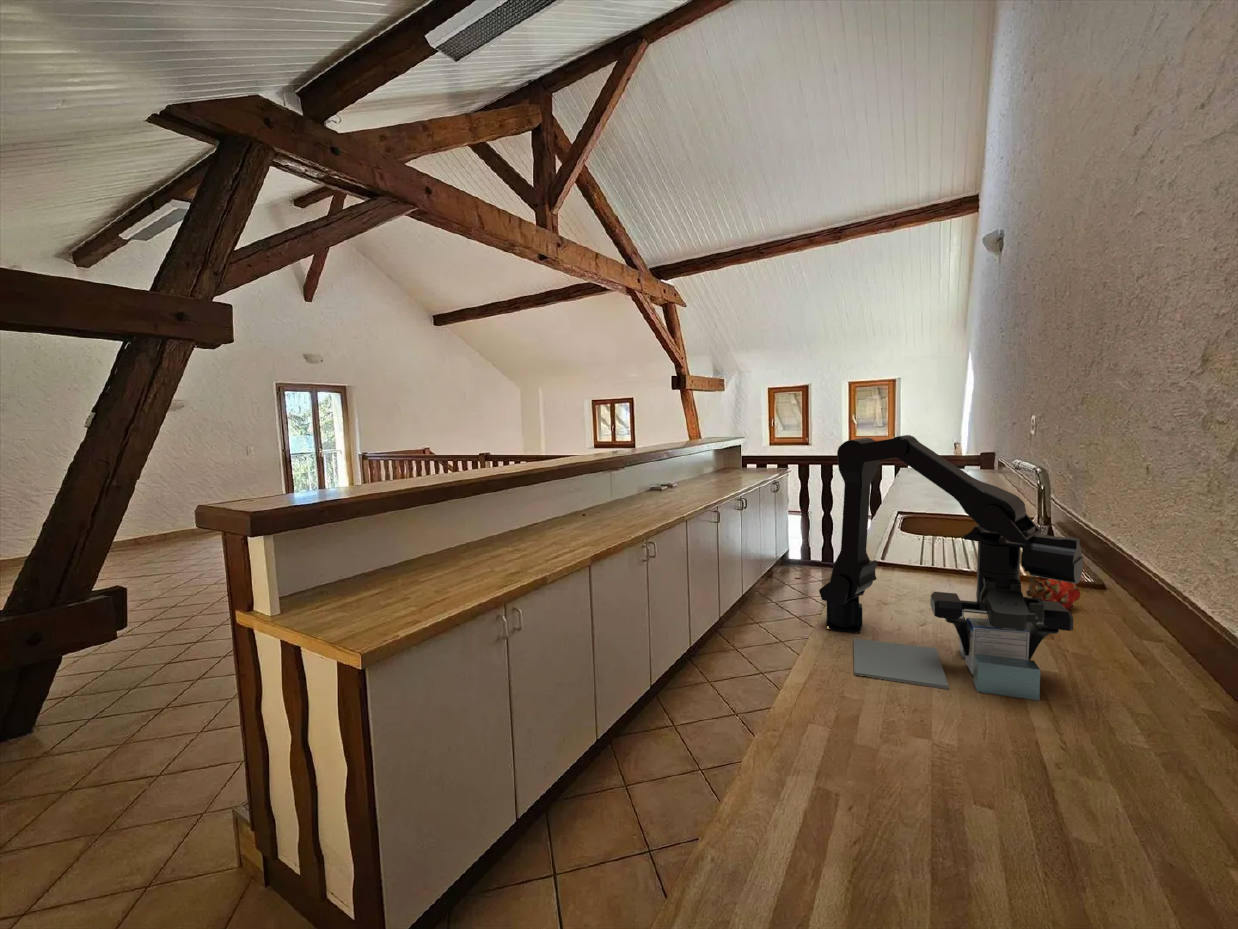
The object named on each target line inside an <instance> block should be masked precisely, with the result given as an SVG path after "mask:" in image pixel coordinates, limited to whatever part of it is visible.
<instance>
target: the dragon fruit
mask: <svg viewBox="0 0 1238 929" xmlns="http://www.w3.org/2000/svg"><path fill="white" fill-rule="evenodd" d="M1028 581H1029V586H1028V590H1026V591H1025V592H1026V596H1028V597H1029V598H1037V599H1042V601H1054V602H1059V603H1060V604H1061V605H1062V606H1063V607H1064V608H1065V609H1066V610H1067V611H1069V612H1070V611H1072V610H1073V609H1074V606H1073V605H1074V603H1075V602H1077V601H1078V600H1080V598H1081V591H1080V589H1079V587H1077V584H1075V583H1070V582H1064V581H1059V580H1053V579H1048V578H1042V577H1036V576H1031V577H1030V578H1029V580H1028Z"/></svg>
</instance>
